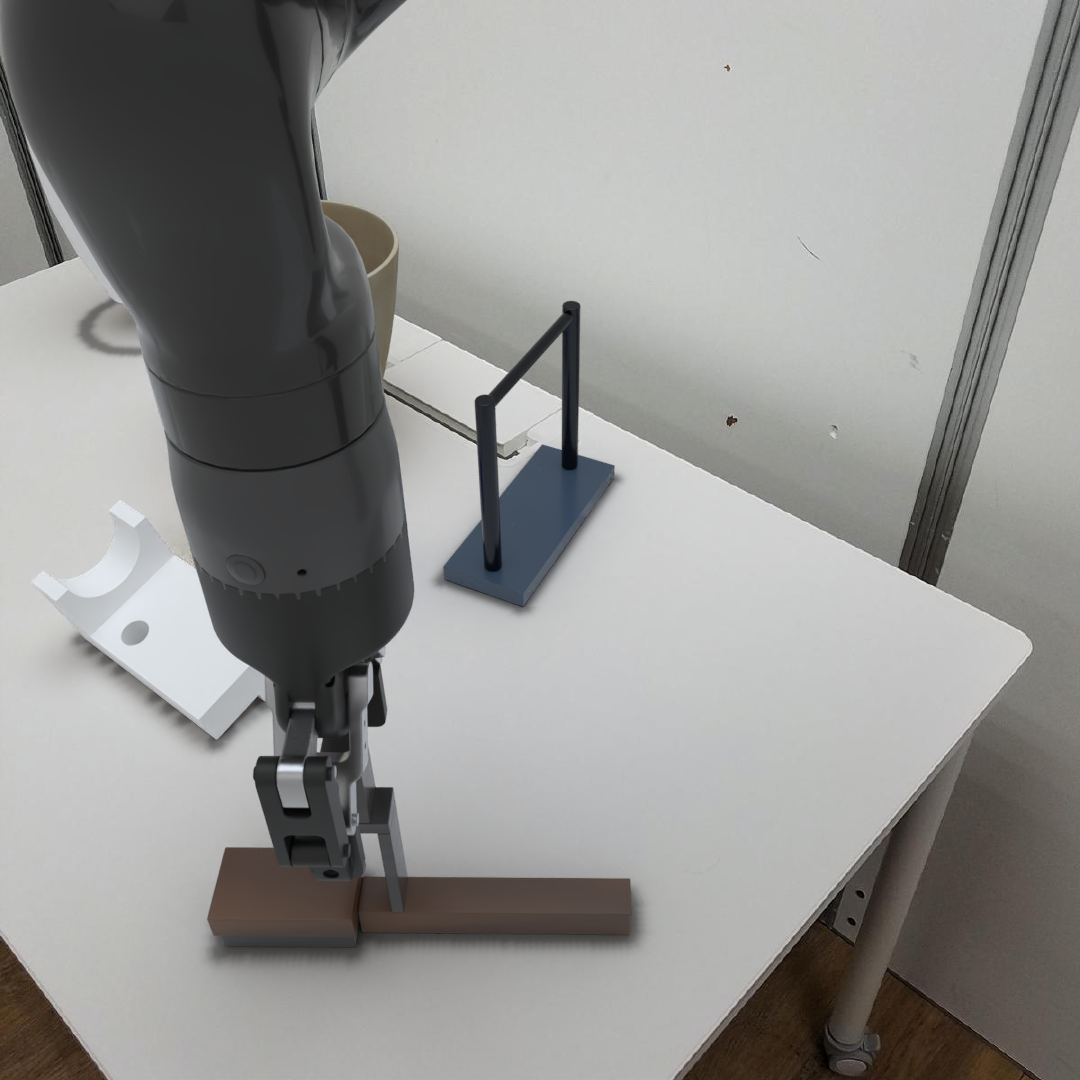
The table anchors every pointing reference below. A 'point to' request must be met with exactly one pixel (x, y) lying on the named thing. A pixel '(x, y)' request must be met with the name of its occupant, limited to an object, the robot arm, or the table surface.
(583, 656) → the table surface
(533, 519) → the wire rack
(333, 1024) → the table surface
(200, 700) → the bracket
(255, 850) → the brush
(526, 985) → the table surface
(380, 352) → the plant pot
